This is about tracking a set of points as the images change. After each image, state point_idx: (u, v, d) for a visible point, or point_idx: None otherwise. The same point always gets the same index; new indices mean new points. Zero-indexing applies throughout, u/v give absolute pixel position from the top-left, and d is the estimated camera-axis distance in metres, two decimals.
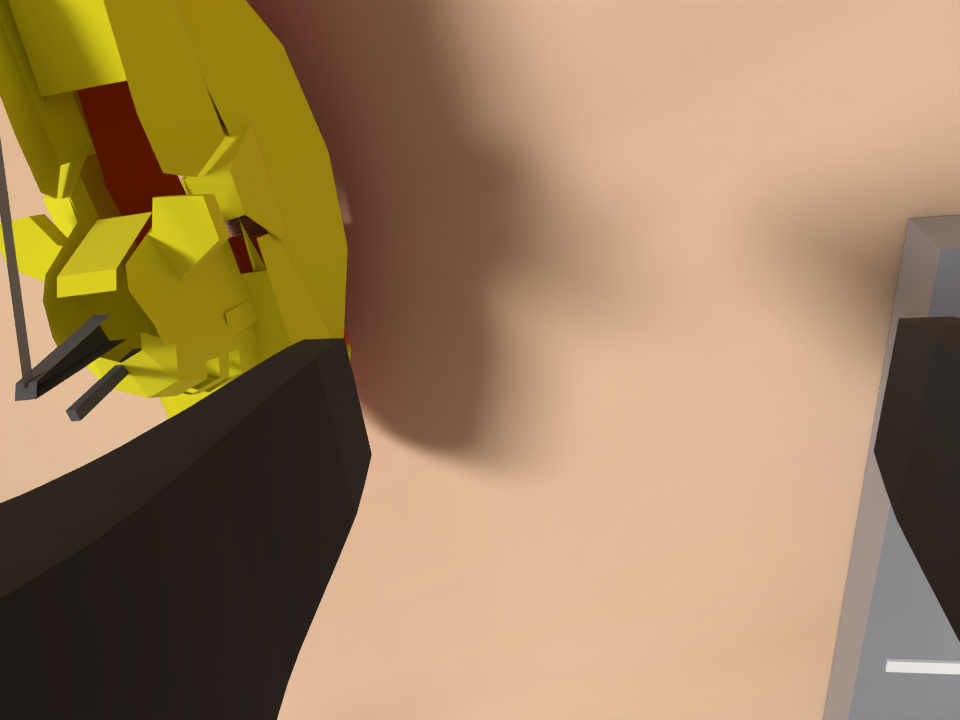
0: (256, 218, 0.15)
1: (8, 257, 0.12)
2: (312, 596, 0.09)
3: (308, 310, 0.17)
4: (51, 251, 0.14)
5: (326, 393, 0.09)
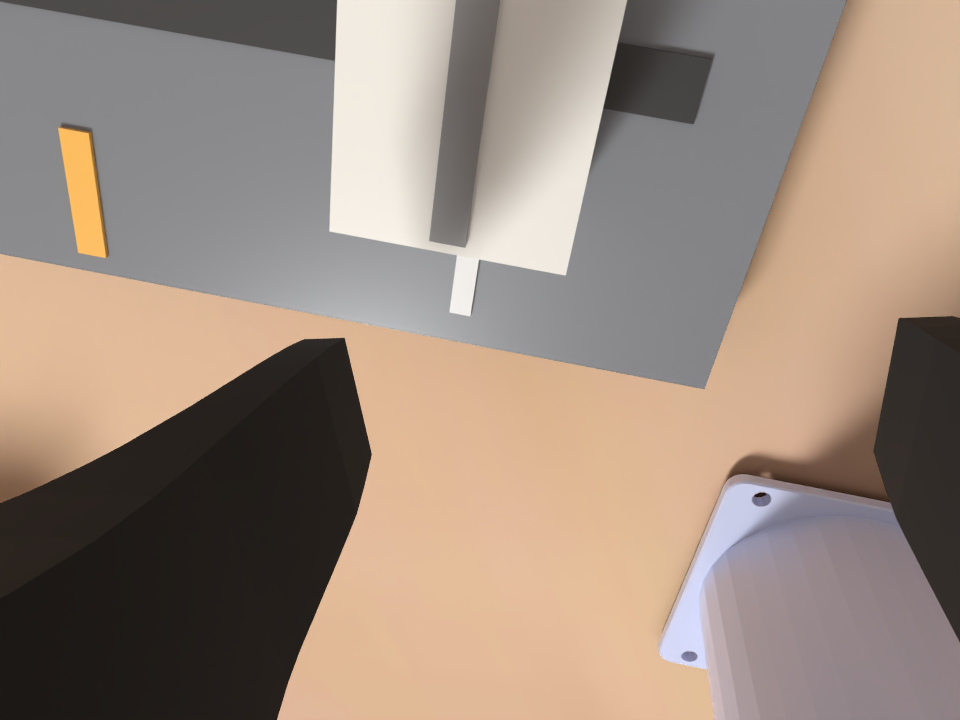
0: None
1: None
2: (312, 596, 0.09)
3: None
4: None
5: (326, 393, 0.09)
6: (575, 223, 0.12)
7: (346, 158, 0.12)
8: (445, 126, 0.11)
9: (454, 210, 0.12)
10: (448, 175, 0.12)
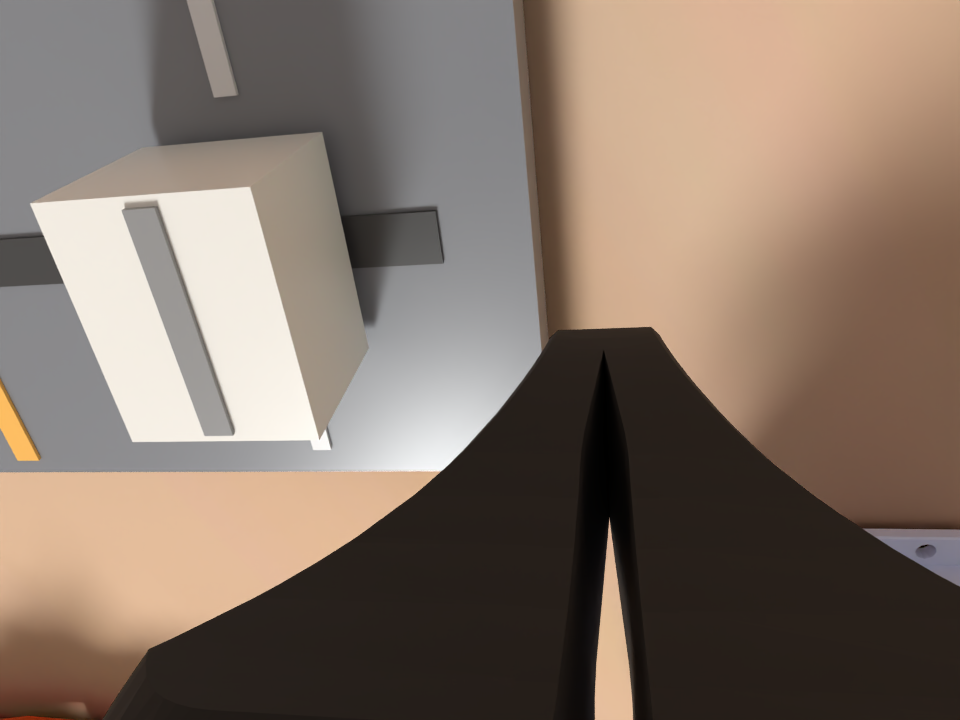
0: None
1: None
2: (598, 604, 0.08)
3: None
4: None
5: (604, 387, 0.09)
6: (306, 401, 0.14)
7: (120, 388, 0.14)
8: (177, 353, 0.13)
9: (212, 410, 0.14)
10: (197, 385, 0.14)
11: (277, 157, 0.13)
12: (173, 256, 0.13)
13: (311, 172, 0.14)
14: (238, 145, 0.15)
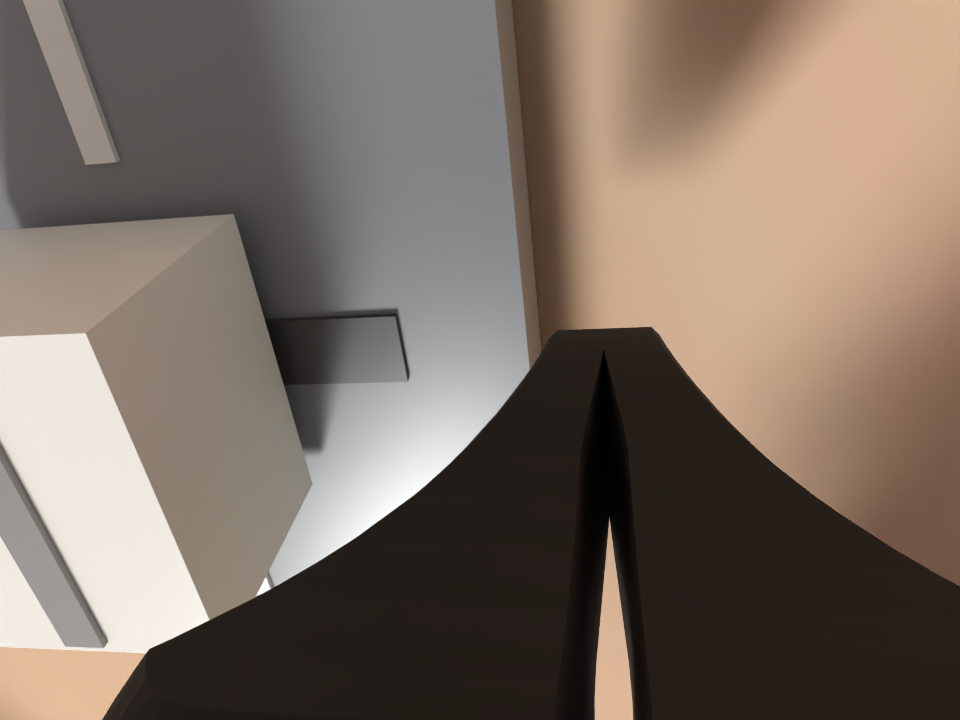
0: None
1: None
2: (598, 604, 0.08)
3: None
4: None
5: (604, 387, 0.09)
6: (202, 611, 0.10)
7: None
8: (10, 547, 0.09)
9: (70, 617, 0.10)
10: (48, 584, 0.10)
11: (153, 265, 0.09)
12: None
13: (212, 277, 0.10)
14: (114, 235, 0.10)
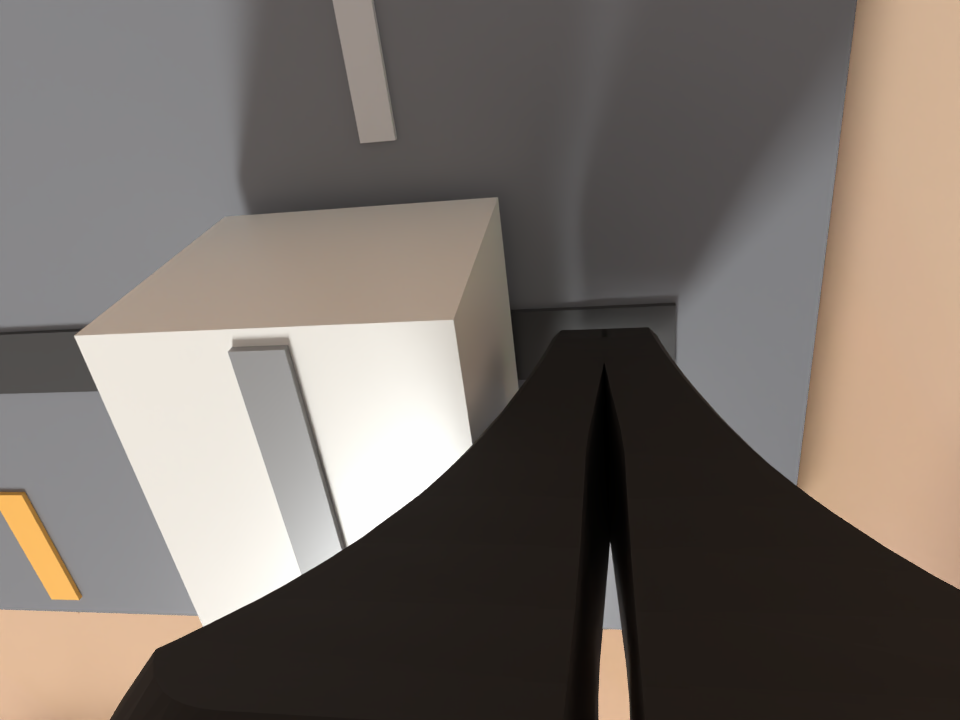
0: None
1: None
2: (602, 604, 0.08)
3: None
4: None
5: None
6: None
7: (204, 591, 0.09)
8: (299, 553, 0.09)
9: None
10: None
11: (459, 249, 0.08)
12: (307, 419, 0.08)
13: (493, 263, 0.09)
14: (376, 219, 0.10)
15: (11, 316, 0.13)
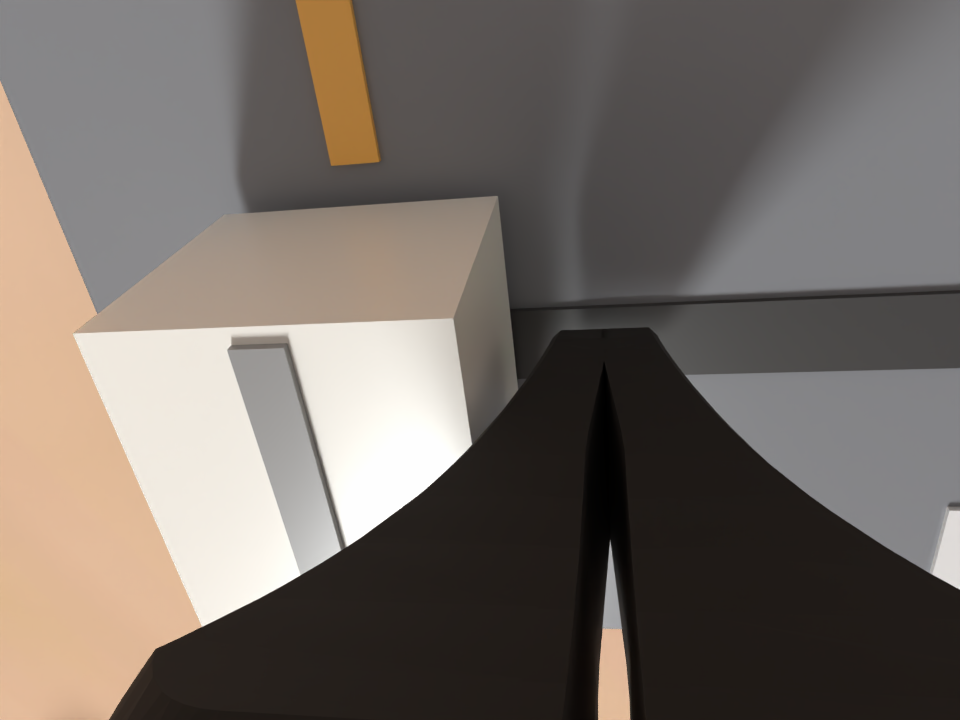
0: None
1: None
2: (602, 604, 0.08)
3: None
4: None
5: None
6: None
7: (202, 590, 0.09)
8: (298, 552, 0.09)
9: None
10: None
11: (459, 248, 0.08)
12: (307, 418, 0.08)
13: (492, 262, 0.09)
14: (376, 218, 0.10)
15: (509, 291, 0.11)
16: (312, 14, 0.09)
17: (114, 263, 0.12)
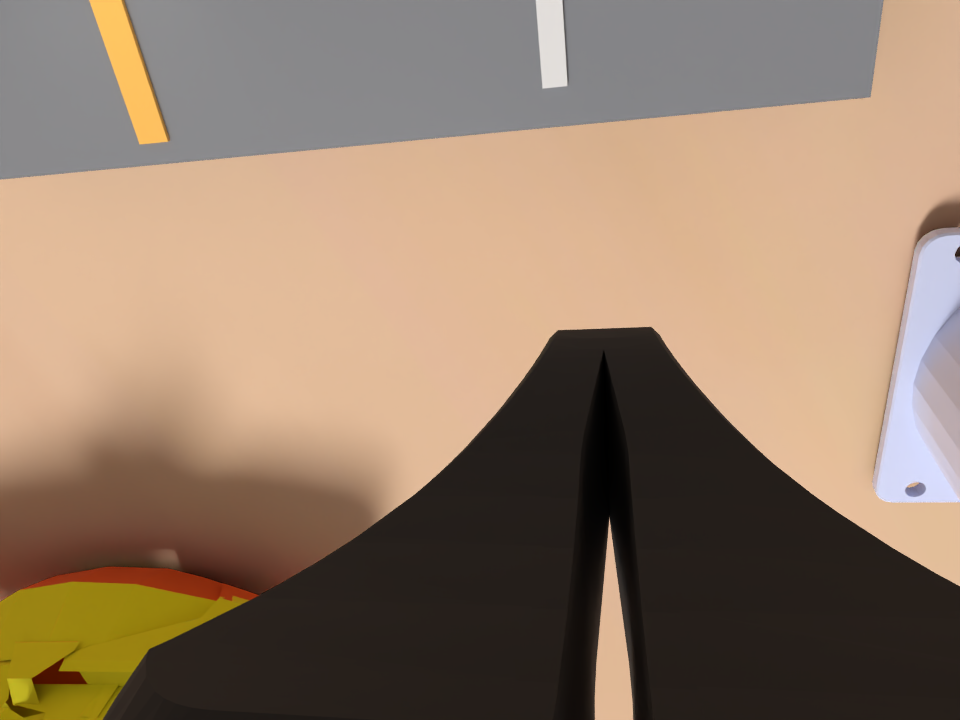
0: (43, 668, 0.23)
1: None
2: (598, 604, 0.08)
3: (135, 641, 0.23)
4: None
5: (604, 387, 0.09)
6: None
7: None
8: None
9: None
10: None
11: None
12: None
13: None
14: None
15: None
16: None
17: None
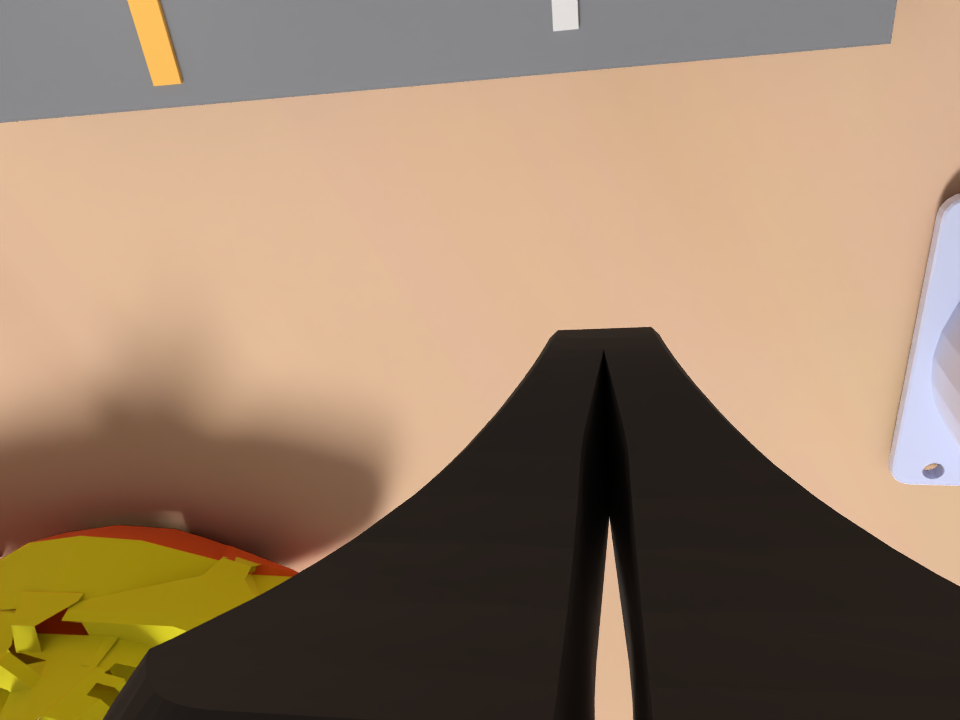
0: (46, 617, 0.23)
1: None
2: (598, 604, 0.08)
3: (137, 595, 0.23)
4: None
5: (604, 387, 0.09)
6: None
7: None
8: None
9: None
10: None
11: None
12: None
13: None
14: None
15: None
16: None
17: None
